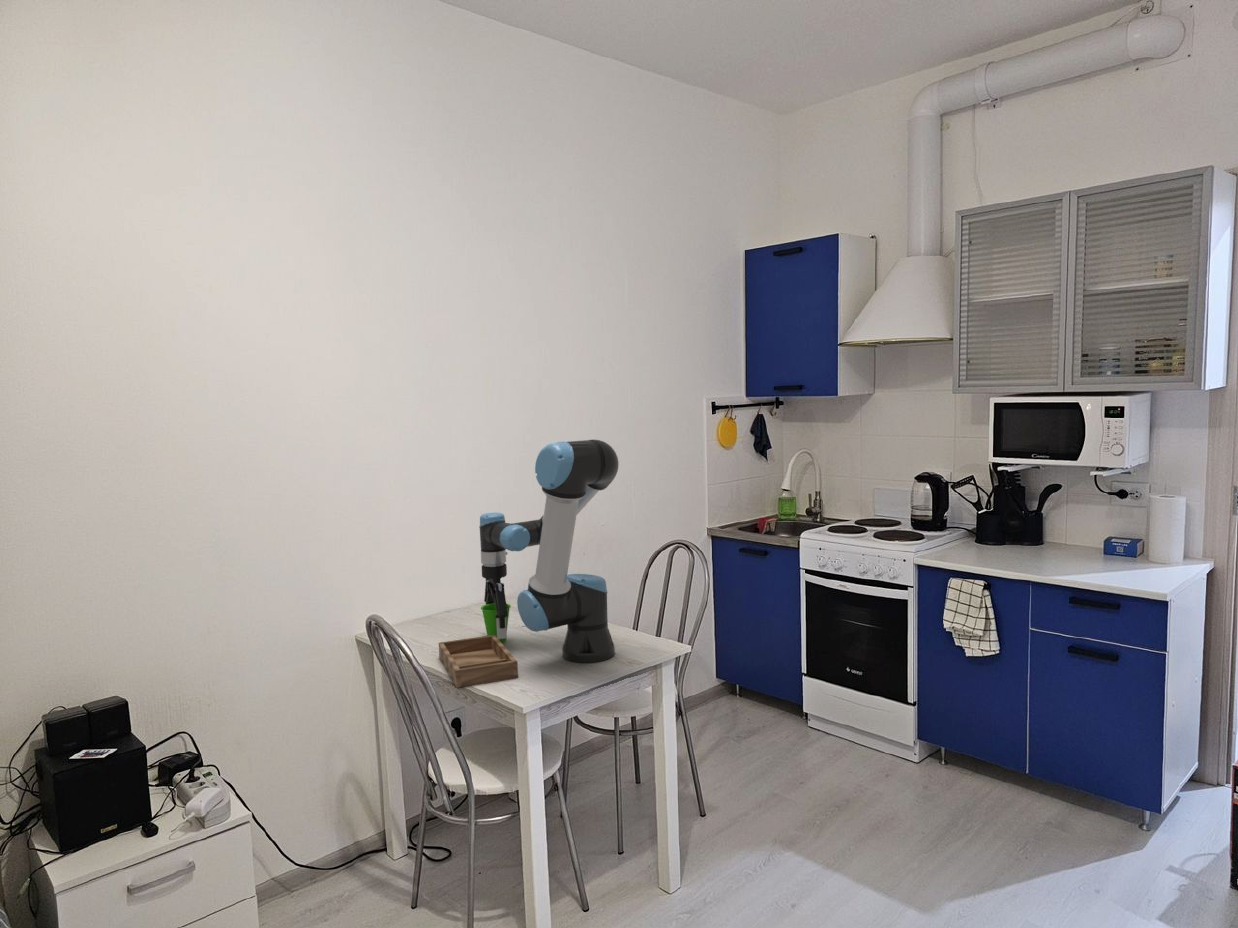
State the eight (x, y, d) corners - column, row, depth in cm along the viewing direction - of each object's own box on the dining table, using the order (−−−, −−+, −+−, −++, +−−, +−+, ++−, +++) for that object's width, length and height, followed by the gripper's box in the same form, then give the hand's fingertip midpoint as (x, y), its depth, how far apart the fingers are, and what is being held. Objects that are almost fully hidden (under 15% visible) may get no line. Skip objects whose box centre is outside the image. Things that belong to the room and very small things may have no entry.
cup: (506, 646, 244) (504, 610, 243) (477, 645, 246) (476, 610, 245) (516, 637, 253) (514, 603, 252) (488, 636, 255) (486, 602, 254)
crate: (518, 677, 218) (517, 661, 217) (456, 687, 212) (455, 670, 211) (495, 649, 242) (494, 634, 242) (439, 657, 236) (438, 642, 236)
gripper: (516, 570, 237) (519, 641, 239) (496, 555, 260) (498, 619, 262) (491, 573, 235) (494, 645, 237) (473, 557, 258) (475, 622, 260)
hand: (496, 632), depth 250 cm, fingers open, 13 cm apart
